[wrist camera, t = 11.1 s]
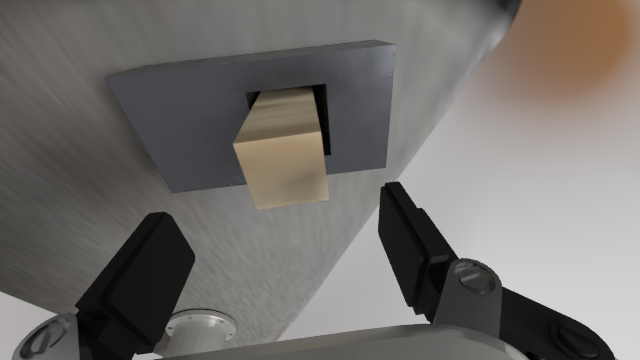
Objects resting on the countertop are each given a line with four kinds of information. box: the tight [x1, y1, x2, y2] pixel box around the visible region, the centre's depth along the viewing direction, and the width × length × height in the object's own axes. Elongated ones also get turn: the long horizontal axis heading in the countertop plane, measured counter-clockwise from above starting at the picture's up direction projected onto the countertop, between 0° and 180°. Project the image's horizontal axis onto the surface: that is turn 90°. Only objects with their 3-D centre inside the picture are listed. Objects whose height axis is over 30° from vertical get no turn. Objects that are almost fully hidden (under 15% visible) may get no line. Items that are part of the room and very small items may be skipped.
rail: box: [104, 40, 396, 193], centre depth 21 cm, size 10×20×5 cm, turn 95°
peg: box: [233, 85, 329, 210], centre depth 18 cm, size 4×4×12 cm
